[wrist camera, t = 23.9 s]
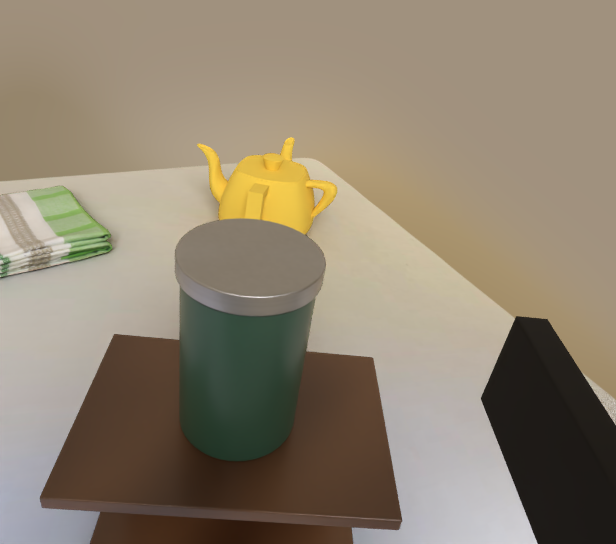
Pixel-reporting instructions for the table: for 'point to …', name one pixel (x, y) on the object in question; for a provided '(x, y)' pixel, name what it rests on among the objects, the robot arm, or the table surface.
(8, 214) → the dish towel
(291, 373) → the tin
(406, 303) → the table surface
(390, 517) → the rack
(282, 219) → the teapot
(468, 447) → the table surface
